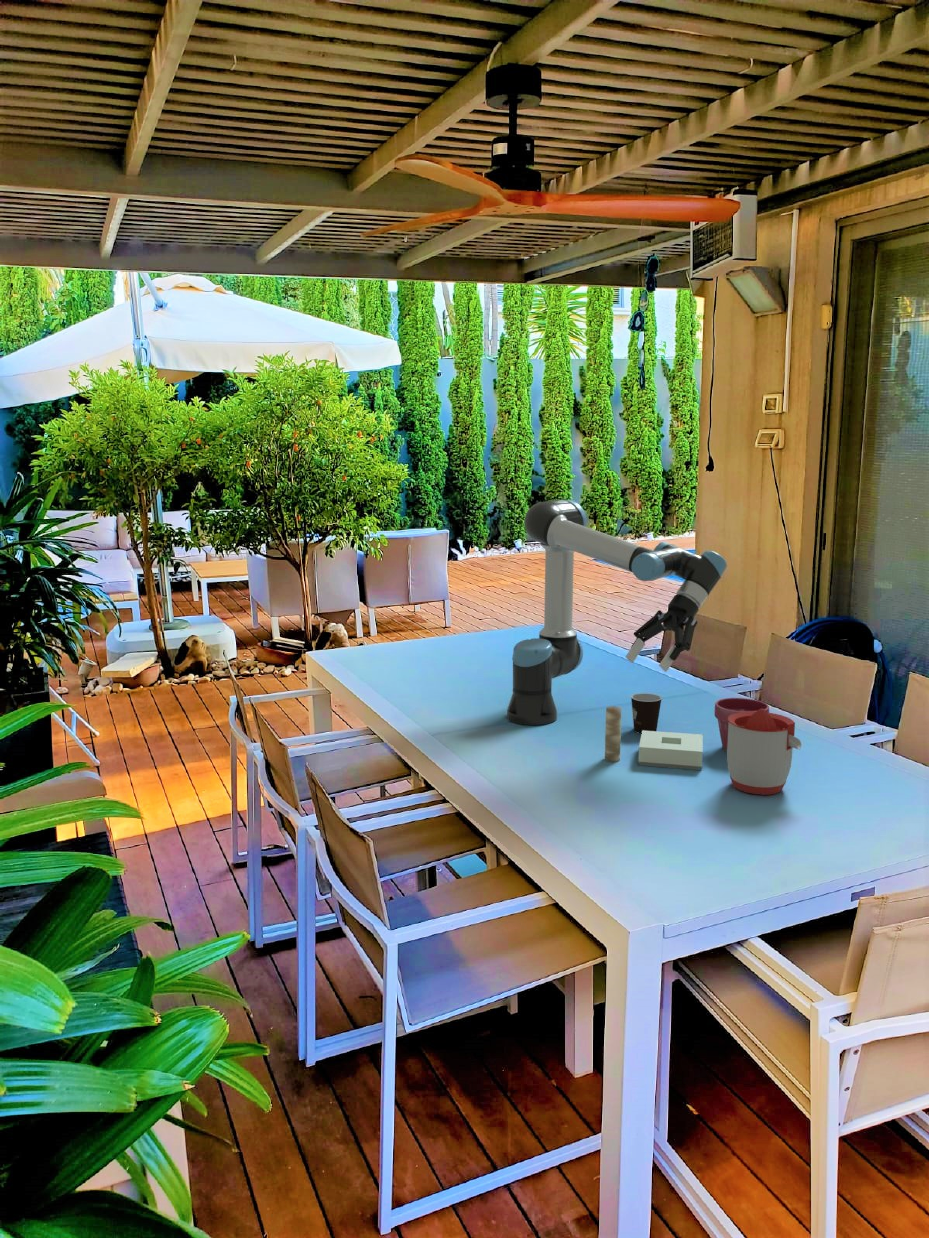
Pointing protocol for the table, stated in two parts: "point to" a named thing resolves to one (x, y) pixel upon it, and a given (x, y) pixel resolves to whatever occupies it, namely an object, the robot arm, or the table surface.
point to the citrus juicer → (760, 751)
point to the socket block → (671, 750)
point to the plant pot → (734, 706)
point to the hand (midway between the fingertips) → (645, 664)
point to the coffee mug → (645, 711)
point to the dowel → (613, 734)
